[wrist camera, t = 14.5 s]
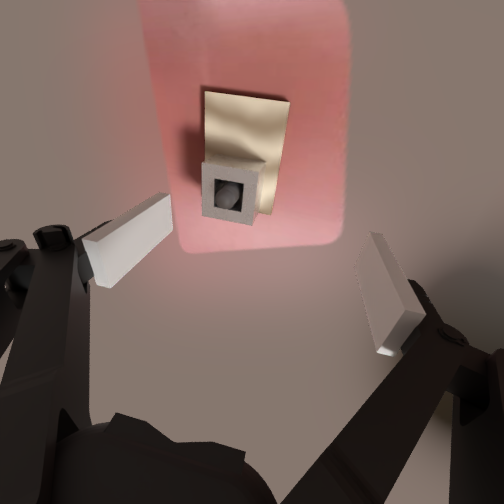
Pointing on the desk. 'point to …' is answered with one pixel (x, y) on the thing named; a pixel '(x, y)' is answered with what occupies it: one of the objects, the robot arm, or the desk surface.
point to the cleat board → (246, 139)
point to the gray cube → (233, 170)
